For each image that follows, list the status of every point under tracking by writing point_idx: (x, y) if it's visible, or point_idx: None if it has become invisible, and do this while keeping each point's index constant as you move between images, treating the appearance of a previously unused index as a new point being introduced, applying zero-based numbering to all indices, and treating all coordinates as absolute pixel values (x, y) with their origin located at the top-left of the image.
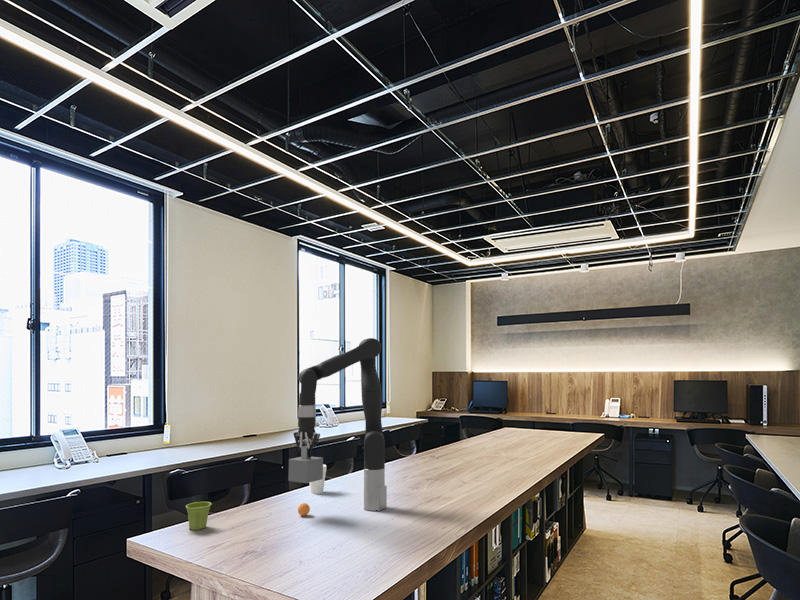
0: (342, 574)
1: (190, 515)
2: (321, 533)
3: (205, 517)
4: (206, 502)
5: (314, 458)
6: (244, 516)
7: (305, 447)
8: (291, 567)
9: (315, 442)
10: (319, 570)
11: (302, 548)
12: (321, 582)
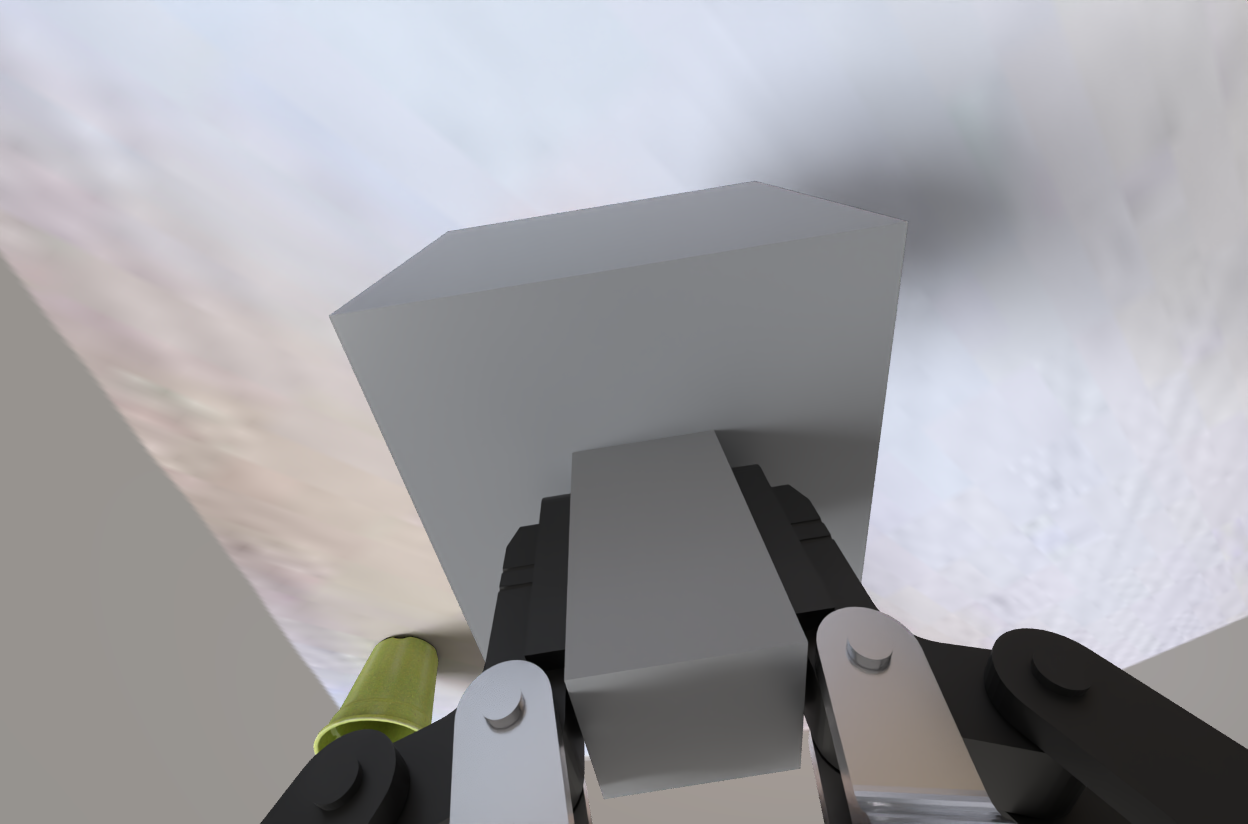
0: (1168, 583)
1: (406, 735)
2: (910, 407)
3: (428, 687)
4: (344, 722)
5: (793, 406)
6: (359, 485)
7: (756, 762)
8: (996, 632)
9: (1177, 810)
10: (1088, 602)
11: (939, 546)
12: (1126, 633)
